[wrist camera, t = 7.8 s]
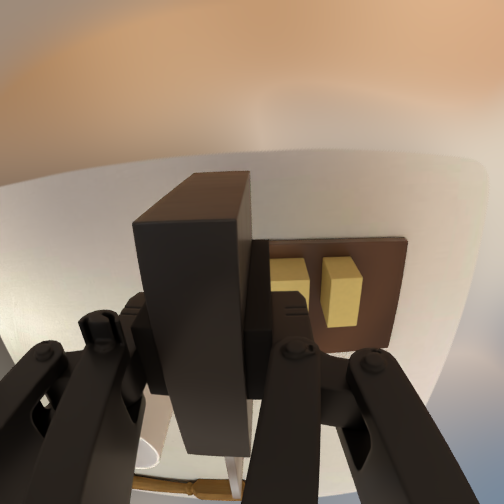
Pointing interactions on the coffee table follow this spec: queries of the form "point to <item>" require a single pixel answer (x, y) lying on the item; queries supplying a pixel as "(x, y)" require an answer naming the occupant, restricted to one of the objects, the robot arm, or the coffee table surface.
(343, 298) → the butter pat
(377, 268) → the butter board
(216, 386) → the knife
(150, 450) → the mug
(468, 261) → the coffee table surface
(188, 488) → the tap handle
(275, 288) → the butter stick
